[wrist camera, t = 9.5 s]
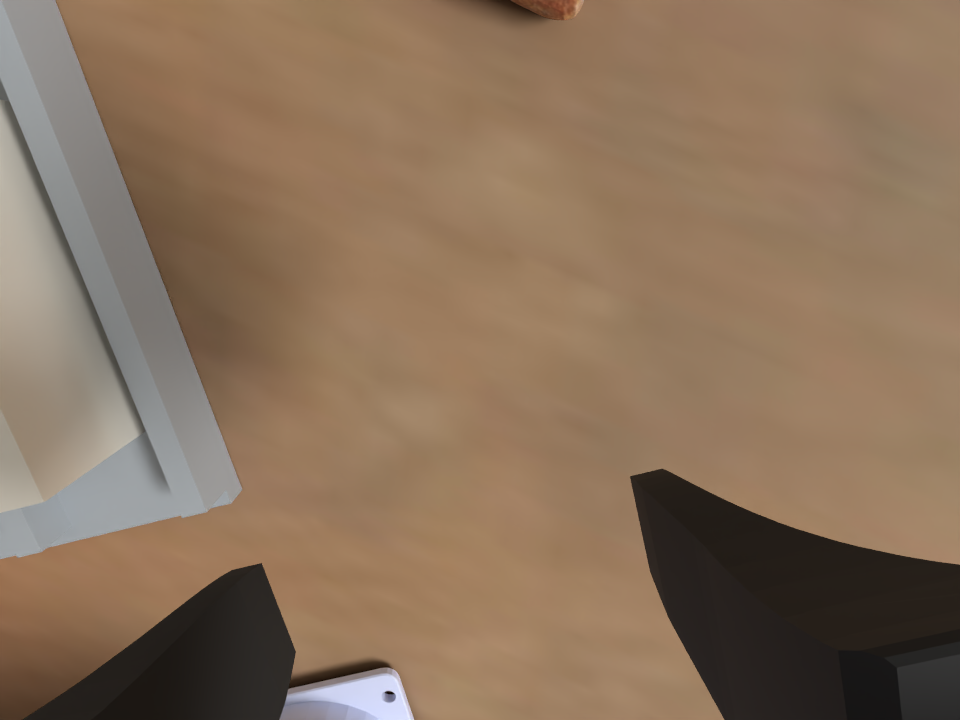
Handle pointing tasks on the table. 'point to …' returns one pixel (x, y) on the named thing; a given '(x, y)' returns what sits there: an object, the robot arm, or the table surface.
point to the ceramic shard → (552, 8)
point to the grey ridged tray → (108, 306)
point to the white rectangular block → (49, 345)
